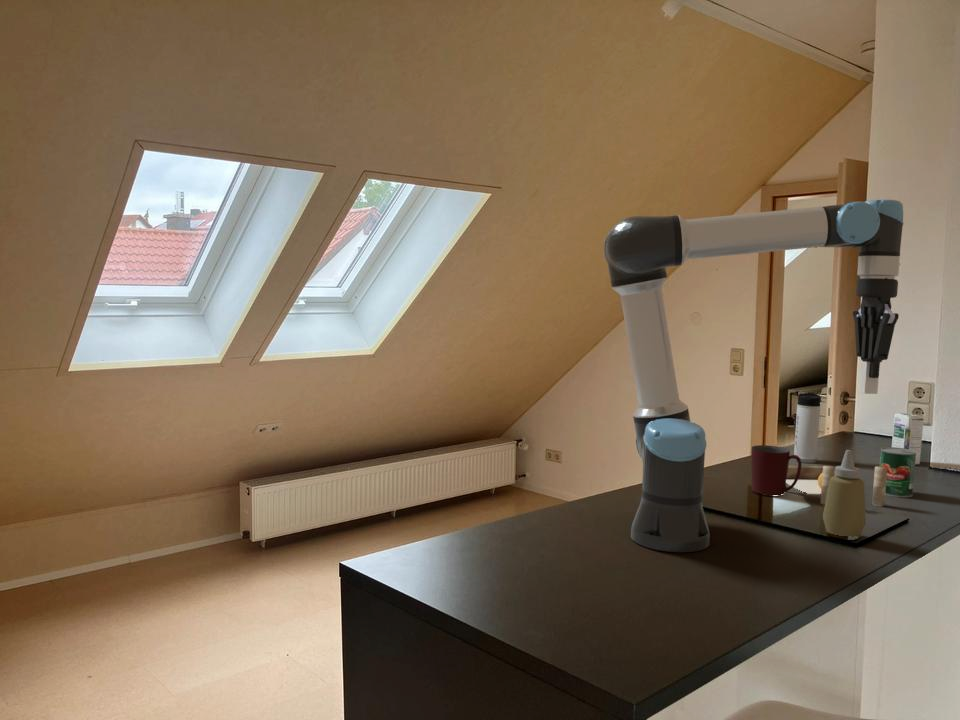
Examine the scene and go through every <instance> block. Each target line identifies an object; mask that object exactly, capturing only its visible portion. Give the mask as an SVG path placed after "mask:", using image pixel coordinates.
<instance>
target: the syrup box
mask: <svg viewBox="0 0 960 720" xmlns="http://www.w3.org/2000/svg"><path fill="white" fill-rule="evenodd" d="M924 417H925V416H921V415H917V414H911V413H906V412H898V413H894V416H893V427H892V441H891V447H896V448H904V449H910V450H913V451H916V460H915V465H920V462H921V451H922V441H923V431H924V430H923V429H924V421H925V420H924Z"/></svg>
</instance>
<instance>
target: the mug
mask: <svg viewBox="0 0 960 720" xmlns="http://www.w3.org/2000/svg"><path fill="white" fill-rule="evenodd" d="M791 459H793V460H794V459H796V460H797V461H796V462H797V466H798V471H797V475H796V478H795V479H793V480H794V482H793V483H792V485H791V486H790V485H789V486H788V487H787V485H786V484H787V483H786V480H787V479H788V478H787V471H788V466H789V465H790V464H789V462H790V460H791ZM750 460H751V461H750V463H751V464H750V465H751V491H752V492H753V491H754V492H756V493H760V494H766V495H781V494H784V495H785V493H787V492H789V491H791V490H792V489H794V486H795V484H796V483H797V481H798V480H800V479H799V476H800V472H801V466H802V462H801V459H800V458H799V457H798V456H797V455H794V454H791V450H790V449H788V448H786V447H782V446H776V445H763V444H761V445H759V444H758V445H753V446H751V459H750ZM754 492H753V493H754ZM756 493H755V494H756Z"/></svg>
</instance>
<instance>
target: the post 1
mask: <svg viewBox="0 0 960 720" xmlns="http://www.w3.org/2000/svg"><path fill="white" fill-rule="evenodd" d="M822 466H823V474H822V489H821V495H820V503H825V502H826V496H827V491H828V485H829V480H830V478H831V477H833V476H835V467H836V466H831V465H822Z"/></svg>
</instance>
